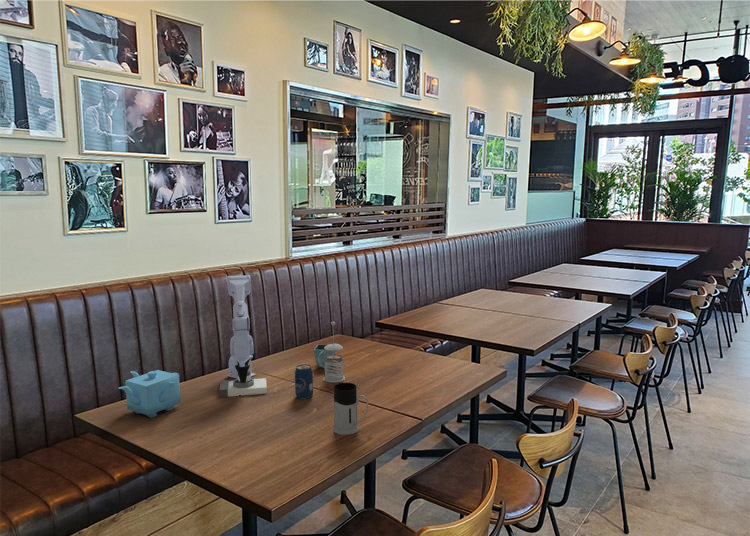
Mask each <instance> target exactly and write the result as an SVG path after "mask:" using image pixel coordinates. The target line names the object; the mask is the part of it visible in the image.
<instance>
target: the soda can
mask: <svg viewBox="0 0 750 536" xmlns="http://www.w3.org/2000/svg"><path fill="white" fill-rule="evenodd" d="M313 373H314V371H313V368H312V366H311V365H310V364H306V363H305V364H299V365H296V367H295V370H294V384H295V385H294V391H295V392H294V394H295V395H296V398H298V399H300V400H304V399H305V398H307V399H309V398H311V397H312V396H313V394H314V375H313Z"/></svg>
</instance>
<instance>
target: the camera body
mask: <svg viewBox="0 0 750 536" xmlns="http://www.w3.org/2000/svg"><path fill="white" fill-rule="evenodd" d="M220 381H221V382H220V388H219V398H227V397H228V396H229V397H239V395H241V396H250V395H253V396H254V395H262V394H267V393H268V390H267V389H268V387H267V378H266V377H263V378H252V377H251V382H249V383H244V384H239V383H238V379H237V378H235V379H233V380H230V379H223V380H220Z"/></svg>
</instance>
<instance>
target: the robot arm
mask: <svg viewBox="0 0 750 536" xmlns="http://www.w3.org/2000/svg"><path fill="white" fill-rule="evenodd" d="M226 280H227V281H226V283H227V293H228V296H231V297H232V298H233V299H234V304H233V305H232V309H233V310H232V312H233V313H232V315H233V318H232V331H233V336H232V337H231V338H230V343H229V349H230V351H229V352H230V353H229V354H230V357H229V359H228V374H227V377H230V378H233V379H238V375H239V379H240V382H246V379H247V372H248V371H250V375H251V378H252V377H254V376H256V375H257V374H256V373H255V372H252V359H253V358H254V356H253V355H254V352H255V351H254V338H253V336H252V335H250V333H249V331H250V328H251V327H250V325H251V324H250V323H251V322H250V317H249V311H248V304H247V303H246V301H245V300H246V298H247V296H248V295H250V294H251V288H252V284H251V283H252V282H251V280H252V279H251V275H249V274H248V275H227V277H226Z"/></svg>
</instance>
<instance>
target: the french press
mask: <svg viewBox="0 0 750 536" xmlns="http://www.w3.org/2000/svg"><path fill="white" fill-rule="evenodd" d="M330 324H331V325H332V336H333V337H332V339H333V340H332V341H333V343H329V344H326V345H327V346H325V347H324V348H325V350H328V351H335V352H338V351H341V350H343V349H344V347H343V346H342V345H341V344H339V343H335V336H334V335H335V334H334V333H335V331H334V326H335V325H336V322H335V321H331V322H330ZM325 350H323V352H324V351H325ZM321 353H322V351H321V352H320V354H321ZM320 354H319V356H320ZM324 354H325V352H324ZM319 356H318V362H319V365H320V364H321V363H320V361H319ZM330 360H333V361H332V362H329V361H330ZM328 362H329V363H328ZM321 365H322V364H321ZM321 365H320V366H321ZM328 365H329V366H328ZM322 366H323V365H322ZM322 366H321V367H320V368H323V369H324V377H323V378H322V380H323V381H324V382H327V383H334V384H335V383H342V382H343V380H344V381H346V379H345V378H346V376H345V375H344V359H343V356H342V355H341V354H338V353H337V354H336V353H335V354H331V355H327V356H326V360H325V366H324V367H322Z"/></svg>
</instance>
